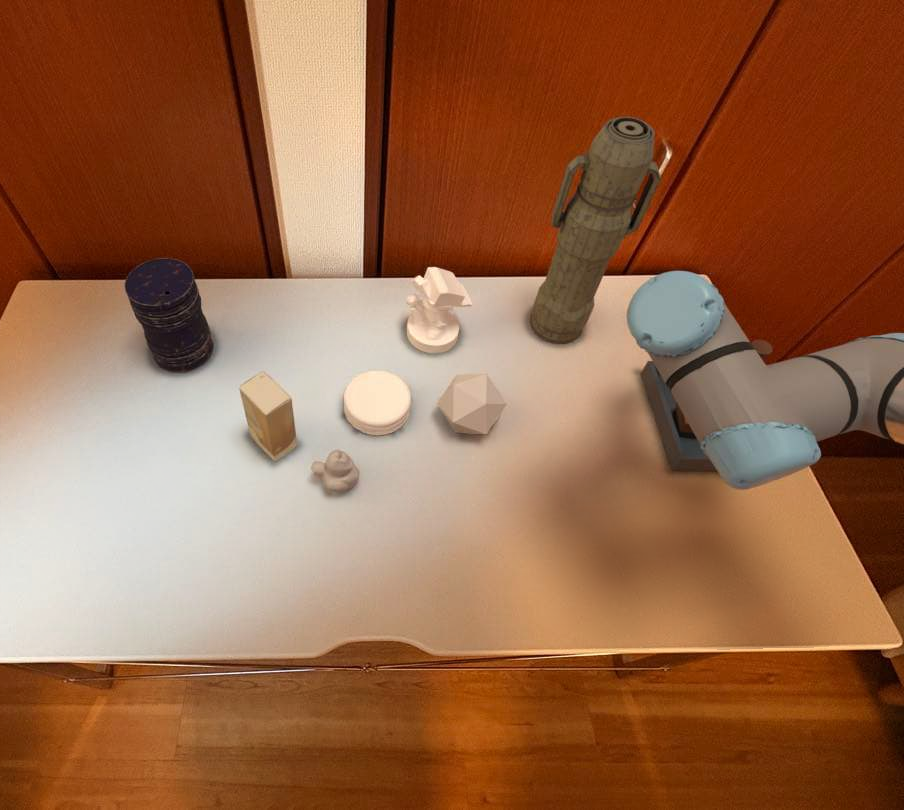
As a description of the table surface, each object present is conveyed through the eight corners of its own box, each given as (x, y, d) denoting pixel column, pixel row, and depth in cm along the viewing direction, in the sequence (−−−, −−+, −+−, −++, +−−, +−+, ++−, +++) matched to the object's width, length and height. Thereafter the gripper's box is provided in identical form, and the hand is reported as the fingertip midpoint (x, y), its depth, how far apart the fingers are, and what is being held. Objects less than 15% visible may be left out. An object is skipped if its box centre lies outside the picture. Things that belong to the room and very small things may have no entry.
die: (481, 391, 96) (449, 354, 90) (525, 406, 89) (493, 367, 83) (451, 435, 95) (416, 400, 88) (493, 454, 88) (458, 418, 81)
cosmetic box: (249, 435, 90) (235, 385, 80) (272, 419, 92) (262, 367, 82) (276, 464, 87) (265, 415, 77) (299, 446, 89) (292, 396, 79)
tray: (767, 471, 87) (780, 460, 84) (672, 470, 87) (681, 459, 84) (726, 373, 97) (735, 361, 95) (640, 373, 97) (647, 360, 95)
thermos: (597, 344, 101) (691, 147, 72) (525, 344, 100) (591, 147, 72) (585, 305, 106) (668, 107, 77) (517, 305, 106) (575, 107, 77)
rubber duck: (357, 500, 84) (356, 471, 77) (309, 495, 84) (305, 466, 78) (361, 466, 87) (361, 435, 81) (315, 461, 87) (311, 431, 81)
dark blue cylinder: (143, 342, 100) (113, 273, 88) (198, 318, 103) (177, 248, 91) (167, 383, 95) (139, 316, 83) (224, 356, 99) (205, 288, 86)
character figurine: (399, 319, 104) (404, 265, 94) (452, 308, 105) (462, 254, 95) (416, 358, 99) (422, 305, 89) (471, 346, 100) (483, 293, 90)
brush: (719, 416, 92) (787, 335, 77) (724, 444, 89) (796, 366, 74) (670, 409, 92) (729, 328, 78) (674, 437, 90) (736, 358, 75)
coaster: (423, 412, 92) (425, 399, 90) (373, 448, 89) (373, 435, 86) (380, 372, 97) (381, 358, 94) (330, 405, 93) (329, 391, 90)
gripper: (596, 298, 72) (644, 339, 89) (766, 460, 60) (786, 473, 76) (647, 248, 70) (687, 300, 86) (837, 407, 57) (842, 432, 73)
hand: (734, 381), depth 81 cm, fingers open, 13 cm apart
